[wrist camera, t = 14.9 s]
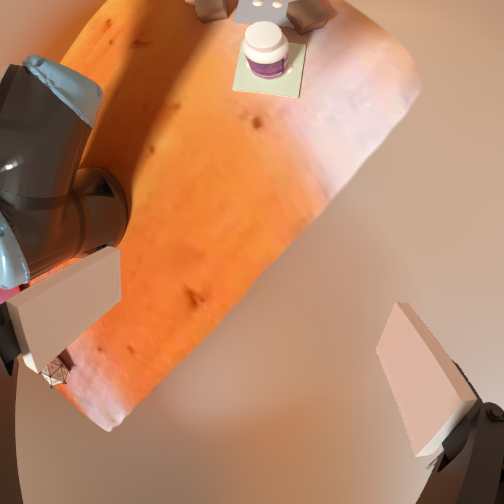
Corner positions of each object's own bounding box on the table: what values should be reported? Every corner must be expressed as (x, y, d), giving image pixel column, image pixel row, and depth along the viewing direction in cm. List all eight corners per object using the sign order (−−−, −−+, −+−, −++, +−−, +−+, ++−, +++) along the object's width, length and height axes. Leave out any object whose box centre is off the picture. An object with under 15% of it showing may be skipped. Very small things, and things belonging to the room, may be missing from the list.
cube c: (299, 34, 29) (303, 21, 25) (285, 15, 28) (288, 2, 24) (323, 27, 28) (329, 15, 25) (308, 9, 27) (313, -4, 24)
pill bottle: (294, 75, 31) (296, 46, 22) (257, 86, 32) (247, 60, 23) (280, 45, 30) (278, 11, 21) (244, 56, 31) (232, 24, 22)
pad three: (232, 90, 33) (232, 89, 33) (243, 38, 30) (243, 37, 30) (298, 98, 32) (298, 98, 32) (305, 45, 30) (306, 44, 29)
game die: (71, 351, 57) (61, 361, 48) (76, 381, 56) (68, 394, 47) (43, 350, 53) (30, 359, 44) (48, 379, 52) (38, 392, 43)
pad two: (233, 23, 30) (233, 22, 29) (243, -15, 27) (243, -16, 27) (294, 28, 29) (294, 27, 29) (300, -11, 26) (300, -12, 26)
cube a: (202, 23, 30) (195, 11, 26) (201, 6, 29) (194, -6, 25) (228, 18, 30) (222, 5, 26) (226, 1, 29) (221, -12, 25)
